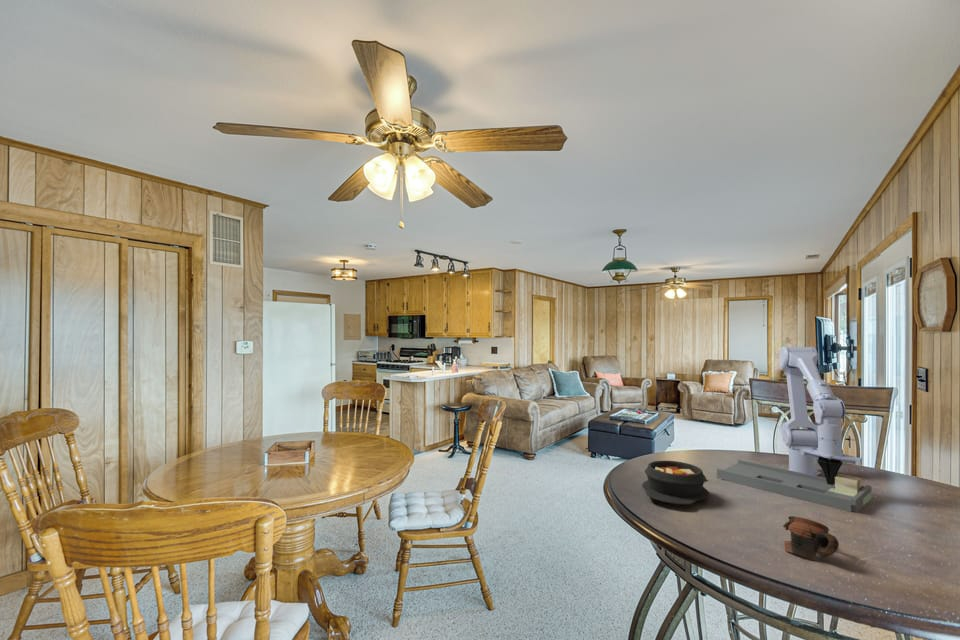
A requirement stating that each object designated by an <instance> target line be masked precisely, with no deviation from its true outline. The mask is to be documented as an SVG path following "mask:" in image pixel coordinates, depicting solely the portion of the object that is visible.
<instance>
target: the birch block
mask: <svg viewBox="0 0 960 640" xmlns="http://www.w3.org/2000/svg"><path fill="white" fill-rule="evenodd" d="M862 486H863V485H862V477H857V476H852V475H848V474H843V473H842V474H841V473H839V474H837V475H836V477H835V491H838V492H843V493H847V494H852V495H856V494H857V493H858V492H859V491H861V490H862Z"/></svg>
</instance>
